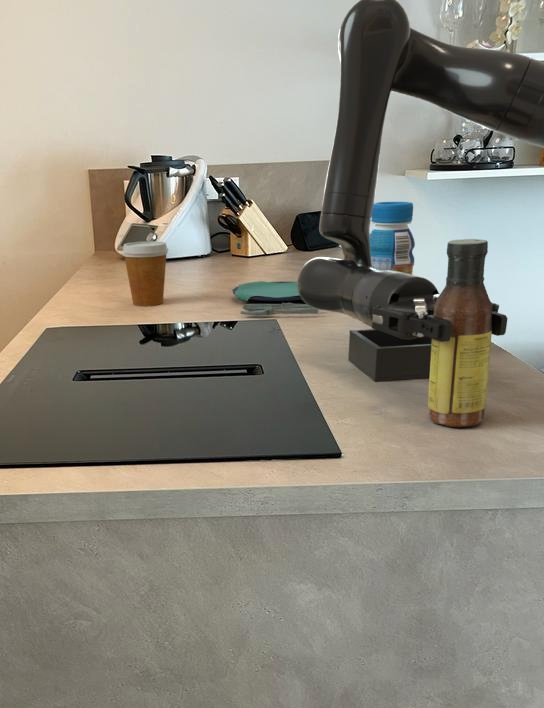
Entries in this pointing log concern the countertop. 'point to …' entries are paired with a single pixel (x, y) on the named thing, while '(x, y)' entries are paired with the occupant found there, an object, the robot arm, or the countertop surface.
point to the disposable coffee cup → (146, 271)
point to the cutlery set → (271, 297)
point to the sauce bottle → (462, 339)
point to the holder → (389, 355)
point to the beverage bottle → (392, 237)
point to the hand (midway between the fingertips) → (476, 329)
